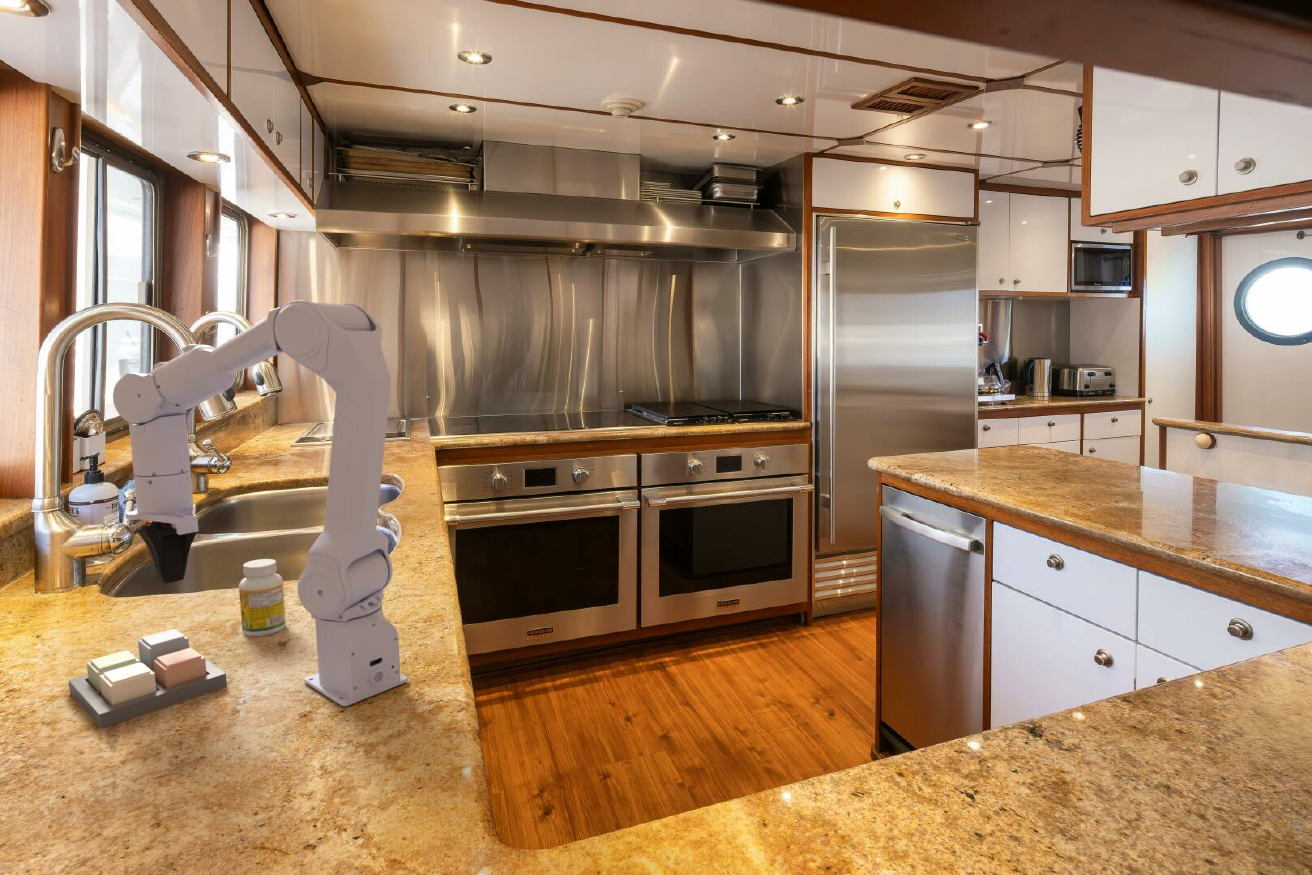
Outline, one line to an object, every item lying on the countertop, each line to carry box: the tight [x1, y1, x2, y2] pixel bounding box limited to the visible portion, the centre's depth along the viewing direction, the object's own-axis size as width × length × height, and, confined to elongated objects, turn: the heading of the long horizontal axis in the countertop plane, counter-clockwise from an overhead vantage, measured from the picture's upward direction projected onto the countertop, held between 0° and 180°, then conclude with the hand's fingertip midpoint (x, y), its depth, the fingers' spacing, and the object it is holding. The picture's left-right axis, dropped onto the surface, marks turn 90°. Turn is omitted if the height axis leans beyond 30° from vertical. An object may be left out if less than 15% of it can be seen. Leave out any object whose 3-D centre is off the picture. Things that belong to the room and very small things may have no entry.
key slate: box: [137, 628, 190, 672], centre depth 86 cm, size 4×4×4 cm
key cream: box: [100, 662, 156, 706], centre depth 79 cm, size 4×4×4 cm
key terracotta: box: [153, 647, 207, 689], centre depth 83 cm, size 4×4×4 cm
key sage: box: [86, 649, 140, 692], centre depth 83 cm, size 4×4×4 cm
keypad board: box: [68, 646, 228, 730], centre depth 83 cm, size 12×12×2 cm
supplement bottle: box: [238, 558, 287, 637], centre depth 100 cm, size 5×5×10 cm
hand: (172, 580), depth 89 cm, fingers closed
